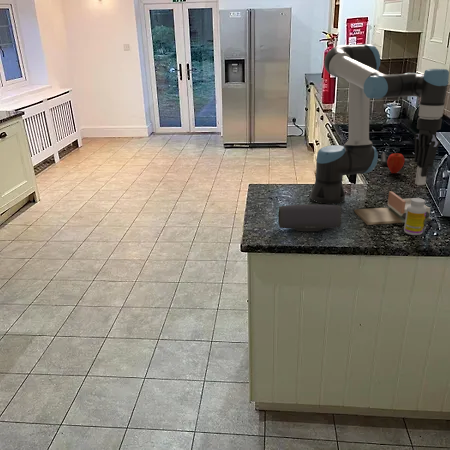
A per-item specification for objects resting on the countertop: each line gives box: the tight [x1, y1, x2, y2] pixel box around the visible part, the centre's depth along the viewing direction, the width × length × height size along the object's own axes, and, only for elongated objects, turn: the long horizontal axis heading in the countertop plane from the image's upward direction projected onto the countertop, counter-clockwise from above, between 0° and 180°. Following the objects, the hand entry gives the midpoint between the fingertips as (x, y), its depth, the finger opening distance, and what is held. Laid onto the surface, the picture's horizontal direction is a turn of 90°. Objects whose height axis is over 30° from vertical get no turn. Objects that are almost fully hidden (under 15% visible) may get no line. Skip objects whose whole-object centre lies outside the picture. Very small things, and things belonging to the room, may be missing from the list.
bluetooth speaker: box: [277, 204, 342, 232], centre depth 170 cm, size 23×9×10 cm, turn 89°
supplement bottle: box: [403, 197, 426, 236], centre depth 165 cm, size 7×7×13 cm
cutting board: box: [354, 206, 432, 226], centre depth 182 cm, size 26×14×1 cm, turn 96°
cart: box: [387, 190, 431, 219], centre depth 181 cm, size 12×14×7 cm
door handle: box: [380, 152, 410, 167], centre depth 254 cm, size 3×20×16 cm
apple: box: [387, 152, 405, 174], centre depth 233 cm, size 9×8×11 cm
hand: (420, 184), depth 160 cm, fingers closed
